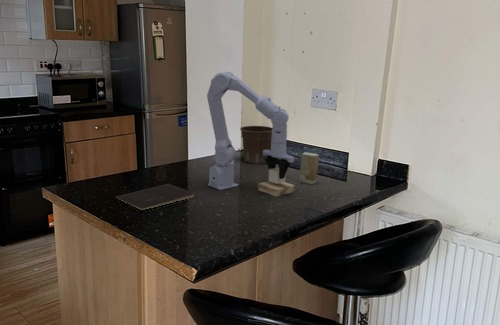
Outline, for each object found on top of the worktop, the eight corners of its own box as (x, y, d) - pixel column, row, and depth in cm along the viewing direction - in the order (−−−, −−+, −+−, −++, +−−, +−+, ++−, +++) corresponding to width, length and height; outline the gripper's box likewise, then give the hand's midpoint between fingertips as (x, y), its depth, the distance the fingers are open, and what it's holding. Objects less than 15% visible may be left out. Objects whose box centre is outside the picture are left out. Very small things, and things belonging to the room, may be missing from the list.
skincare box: (298, 182, 185) (300, 153, 182) (302, 179, 189) (304, 151, 186) (313, 184, 183) (315, 155, 180) (317, 182, 186) (319, 153, 183)
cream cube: (277, 183, 169) (277, 171, 168) (268, 180, 173) (269, 169, 171) (285, 181, 172) (286, 170, 171) (276, 178, 176) (277, 167, 174)
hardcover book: (195, 199, 162) (195, 193, 162) (141, 214, 146) (141, 207, 145) (168, 188, 172) (168, 183, 172) (115, 202, 156) (114, 196, 155)
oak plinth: (276, 197, 167) (276, 190, 166) (258, 190, 174) (258, 183, 173) (294, 192, 173) (294, 185, 172) (276, 186, 180) (276, 179, 180)
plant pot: (244, 165, 208) (245, 131, 204) (235, 157, 224) (236, 125, 220) (277, 164, 213) (278, 131, 209) (266, 156, 228) (268, 125, 224)
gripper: (300, 144, 166) (298, 179, 169) (272, 137, 176) (270, 171, 180) (287, 146, 161) (285, 182, 165) (259, 139, 172) (258, 173, 175)
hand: (277, 176), depth 172 cm, fingers open, 5 cm apart
